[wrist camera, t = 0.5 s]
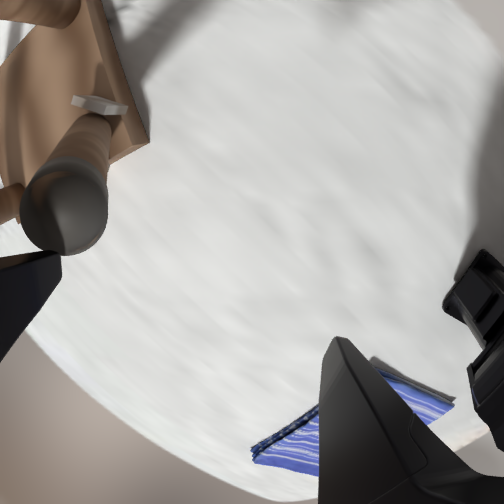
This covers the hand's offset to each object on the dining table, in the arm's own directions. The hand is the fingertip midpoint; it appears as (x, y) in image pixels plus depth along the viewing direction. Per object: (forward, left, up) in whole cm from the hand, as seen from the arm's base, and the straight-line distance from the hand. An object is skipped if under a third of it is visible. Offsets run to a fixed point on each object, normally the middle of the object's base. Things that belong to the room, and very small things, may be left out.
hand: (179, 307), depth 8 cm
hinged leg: (+11, -1, -9) cm, 14 cm away
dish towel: (-24, +21, -14) cm, 35 cm away
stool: (+20, -1, -13) cm, 23 cm away
